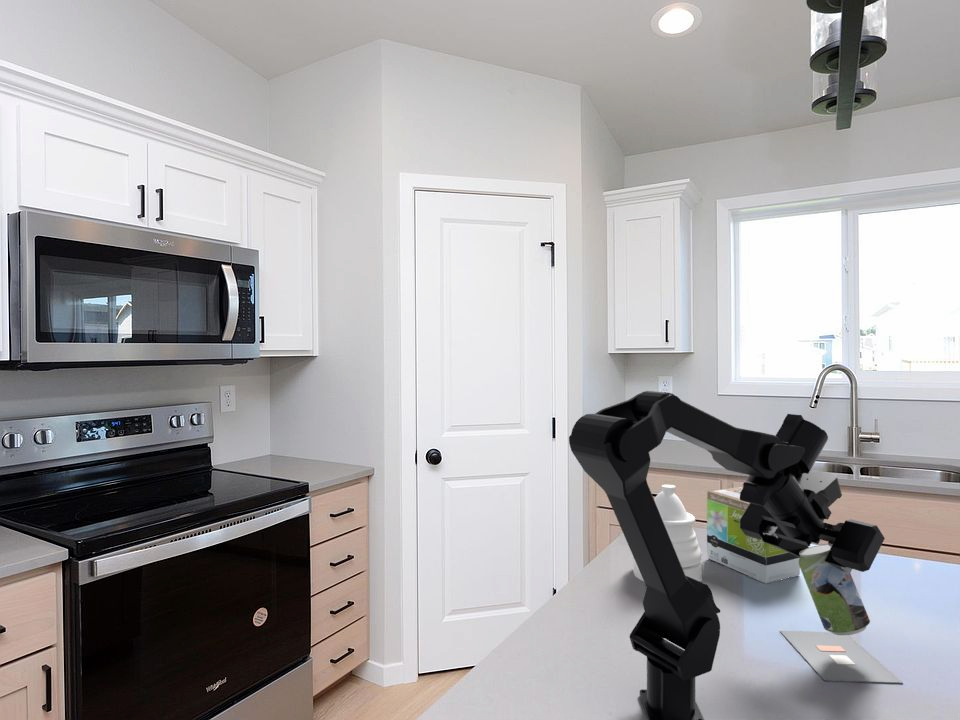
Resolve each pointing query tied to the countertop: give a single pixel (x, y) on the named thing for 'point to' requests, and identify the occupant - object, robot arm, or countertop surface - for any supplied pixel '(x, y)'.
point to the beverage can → (833, 593)
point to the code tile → (839, 657)
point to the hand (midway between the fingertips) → (829, 564)
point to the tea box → (743, 541)
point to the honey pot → (678, 533)
